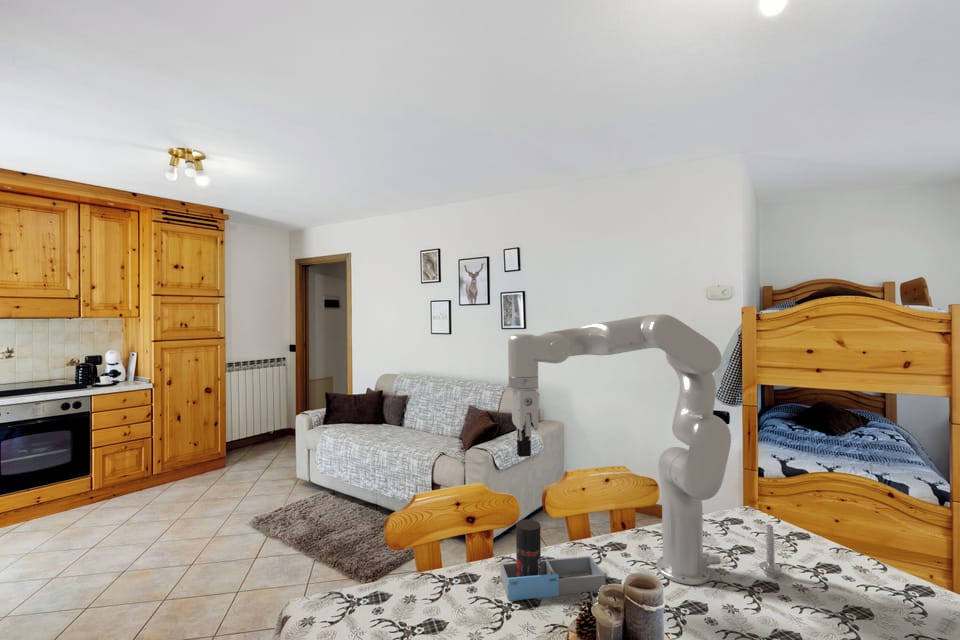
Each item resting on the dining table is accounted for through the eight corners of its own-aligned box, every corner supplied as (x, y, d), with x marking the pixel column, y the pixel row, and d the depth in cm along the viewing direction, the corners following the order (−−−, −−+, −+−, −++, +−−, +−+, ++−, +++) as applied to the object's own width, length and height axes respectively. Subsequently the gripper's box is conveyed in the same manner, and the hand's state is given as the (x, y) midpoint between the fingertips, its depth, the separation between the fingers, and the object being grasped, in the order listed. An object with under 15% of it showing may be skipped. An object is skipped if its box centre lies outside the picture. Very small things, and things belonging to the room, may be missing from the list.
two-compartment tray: (590, 569, 117) (590, 550, 117) (606, 591, 108) (606, 570, 108) (500, 577, 114) (500, 557, 114) (508, 600, 104) (508, 579, 105)
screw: (760, 568, 117) (782, 574, 115) (758, 576, 114) (781, 583, 111) (759, 518, 118) (781, 522, 115) (758, 525, 114) (781, 530, 111)
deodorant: (540, 594, 107) (539, 531, 107) (515, 591, 108) (514, 528, 108) (541, 580, 113) (541, 520, 113) (518, 577, 114) (517, 518, 114)
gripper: (546, 386, 107) (546, 464, 107) (530, 379, 122) (531, 446, 122) (515, 387, 106) (515, 465, 106) (503, 379, 121) (503, 448, 120)
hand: (524, 455), depth 114 cm, fingers closed
